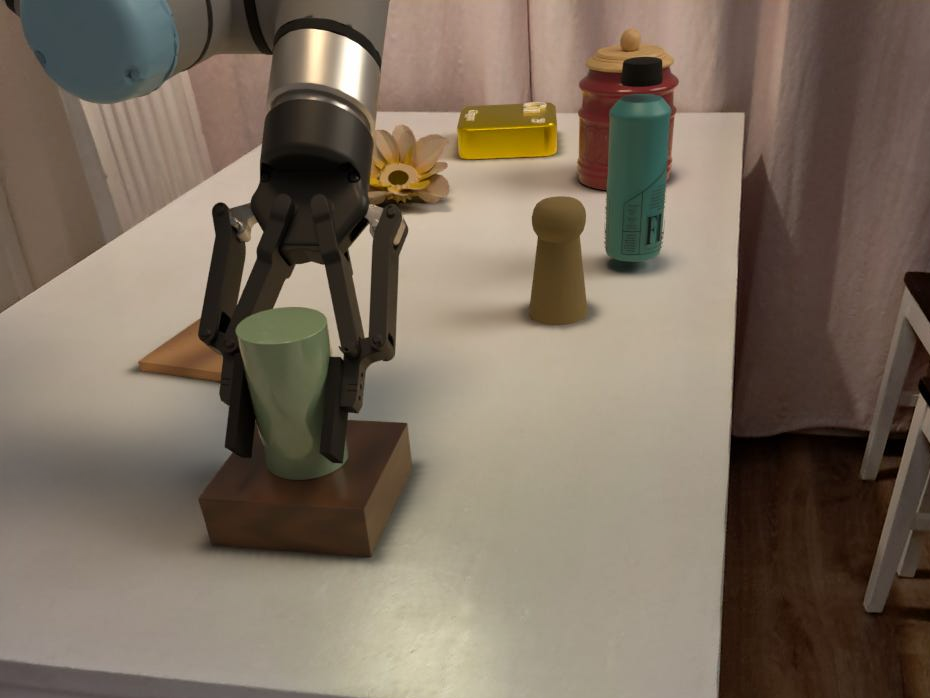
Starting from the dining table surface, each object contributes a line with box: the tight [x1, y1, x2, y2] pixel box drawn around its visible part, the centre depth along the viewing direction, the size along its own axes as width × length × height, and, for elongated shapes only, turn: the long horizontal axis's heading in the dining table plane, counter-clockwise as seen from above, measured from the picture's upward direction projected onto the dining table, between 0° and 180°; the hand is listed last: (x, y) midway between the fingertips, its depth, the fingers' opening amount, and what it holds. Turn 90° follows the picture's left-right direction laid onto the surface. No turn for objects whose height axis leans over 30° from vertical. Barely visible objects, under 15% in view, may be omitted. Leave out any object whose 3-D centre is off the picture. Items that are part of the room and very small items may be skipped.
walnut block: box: [197, 419, 413, 558], centre depth 68 cm, size 12×12×4 cm
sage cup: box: [235, 306, 349, 480], centre depth 64 cm, size 6×6×10 cm
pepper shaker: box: [528, 195, 588, 326], centre depth 91 cm, size 6×6×11 cm
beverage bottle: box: [603, 57, 671, 262], centre depth 97 cm, size 6×7×20 cm
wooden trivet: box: [137, 317, 223, 383], centre depth 91 cm, size 12×12×1 cm
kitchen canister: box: [576, 28, 680, 191], centre depth 122 cm, size 13×13×18 cm
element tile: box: [456, 101, 558, 161], centre depth 143 cm, size 15×15×5 cm
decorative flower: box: [368, 123, 450, 206], centre depth 121 cm, size 15×11×10 cm
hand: (284, 454), depth 63 cm, fingers closed on sage cup, 6 cm apart
